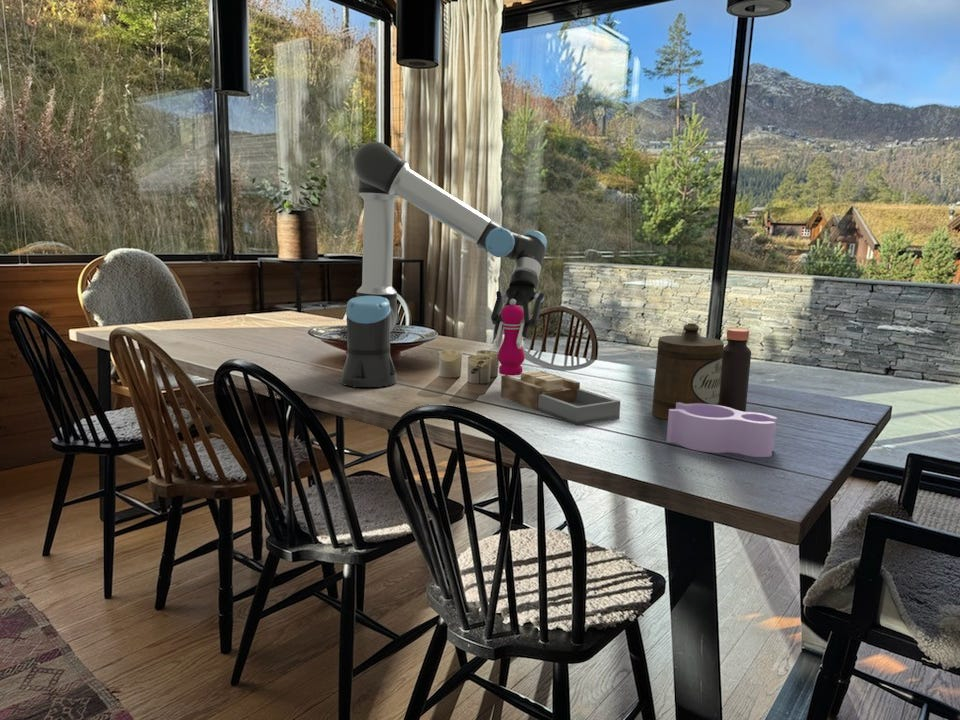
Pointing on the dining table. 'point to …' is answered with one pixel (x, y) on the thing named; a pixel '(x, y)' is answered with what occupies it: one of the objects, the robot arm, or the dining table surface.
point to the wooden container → (686, 370)
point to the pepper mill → (511, 340)
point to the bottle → (735, 370)
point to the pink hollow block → (721, 429)
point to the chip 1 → (531, 376)
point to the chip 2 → (549, 382)
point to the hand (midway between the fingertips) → (507, 344)
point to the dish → (581, 408)
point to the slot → (536, 391)
